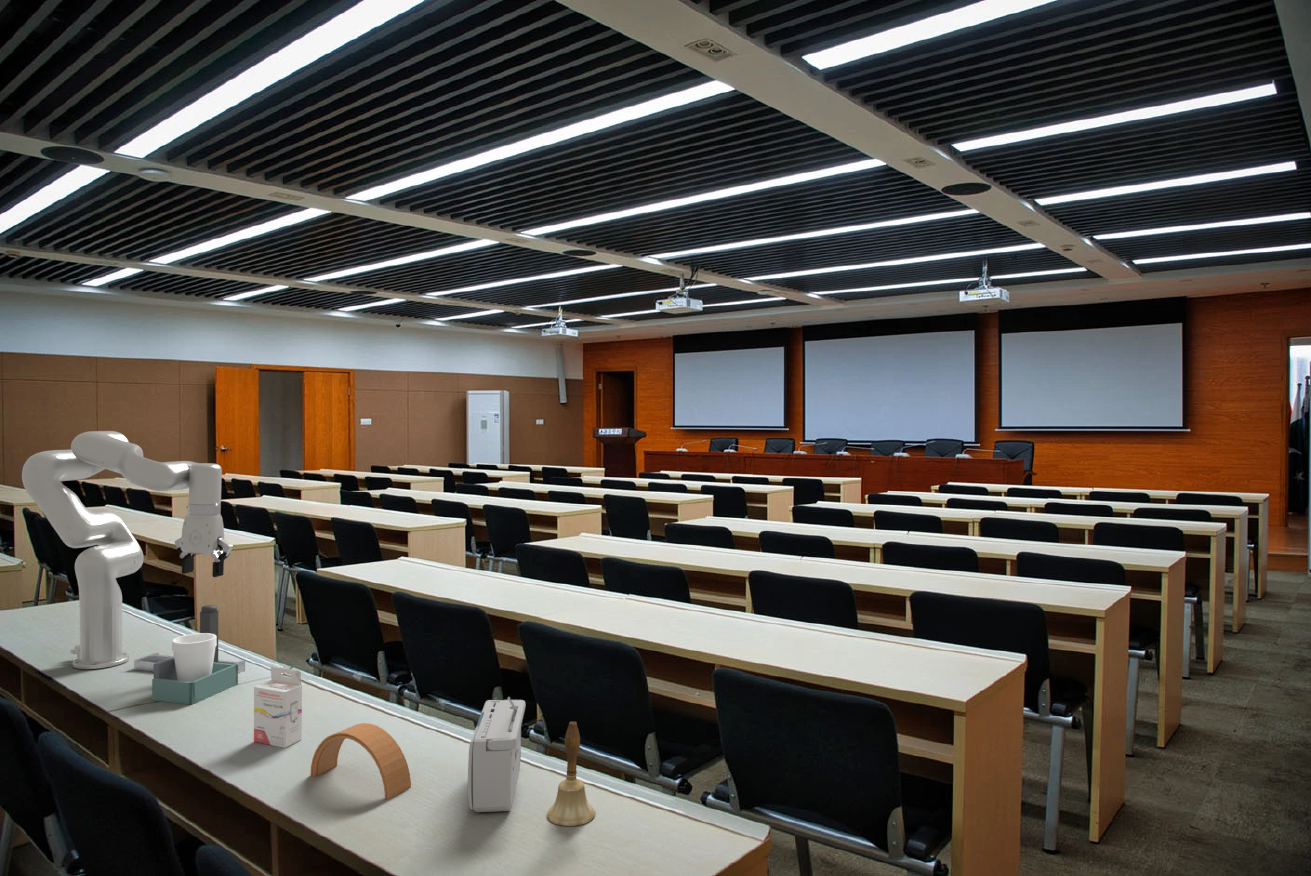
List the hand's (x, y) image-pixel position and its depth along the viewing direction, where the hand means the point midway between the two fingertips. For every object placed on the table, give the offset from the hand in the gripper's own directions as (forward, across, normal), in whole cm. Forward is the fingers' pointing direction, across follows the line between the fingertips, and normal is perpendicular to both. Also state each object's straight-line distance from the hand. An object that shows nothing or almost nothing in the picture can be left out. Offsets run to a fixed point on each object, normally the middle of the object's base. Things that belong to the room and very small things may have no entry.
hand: (202, 574), depth 219 cm
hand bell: (+22, +122, -49) cm, 134 cm away
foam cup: (+25, +13, -16) cm, 32 cm away
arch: (+23, +80, -48) cm, 96 cm away
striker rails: (+25, -1, -2) cm, 25 cm away
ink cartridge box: (+24, +53, -36) cm, 68 cm away
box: (+25, +14, -16) cm, 33 cm away
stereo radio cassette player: (+22, +106, -43) cm, 117 cm away
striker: (+24, +6, -11) cm, 27 cm away
